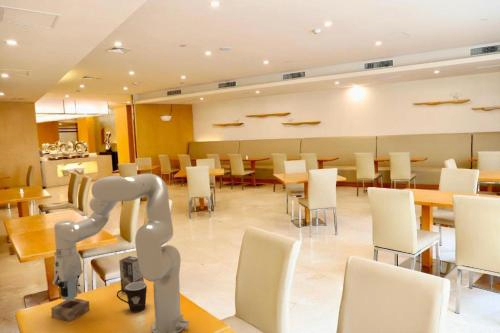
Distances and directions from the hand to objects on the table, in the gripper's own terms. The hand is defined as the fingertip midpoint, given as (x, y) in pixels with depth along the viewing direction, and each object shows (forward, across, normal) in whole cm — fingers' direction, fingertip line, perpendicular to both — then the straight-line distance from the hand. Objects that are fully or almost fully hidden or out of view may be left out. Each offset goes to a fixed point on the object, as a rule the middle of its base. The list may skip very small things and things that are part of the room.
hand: (69, 293), depth 152 cm
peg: (+2, 0, 0) cm, 2 cm away
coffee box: (+9, +25, -11) cm, 29 cm away
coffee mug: (+9, +13, -22) cm, 27 cm away
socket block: (+9, 0, 0) cm, 9 cm away
